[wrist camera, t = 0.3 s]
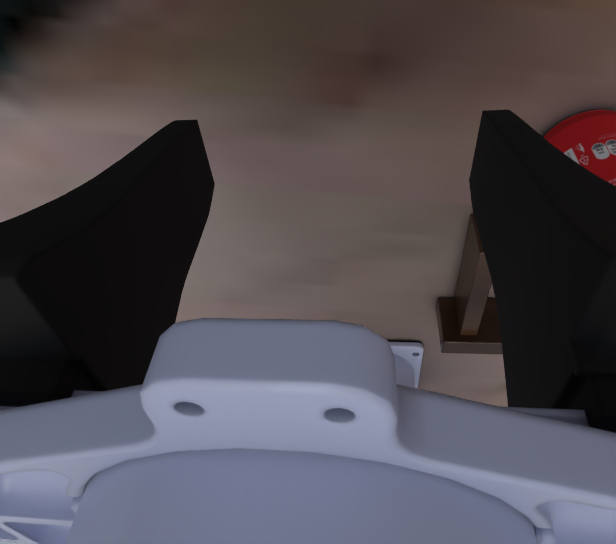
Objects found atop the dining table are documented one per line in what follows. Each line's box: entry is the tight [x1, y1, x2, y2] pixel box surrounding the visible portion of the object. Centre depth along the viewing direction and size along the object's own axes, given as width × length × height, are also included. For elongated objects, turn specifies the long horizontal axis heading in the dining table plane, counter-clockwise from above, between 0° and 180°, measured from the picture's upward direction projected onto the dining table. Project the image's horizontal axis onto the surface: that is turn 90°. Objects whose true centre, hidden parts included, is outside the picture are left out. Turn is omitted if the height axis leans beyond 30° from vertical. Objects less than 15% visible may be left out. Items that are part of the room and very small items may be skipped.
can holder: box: [436, 214, 503, 354], centre depth 27 cm, size 8×11×4 cm
